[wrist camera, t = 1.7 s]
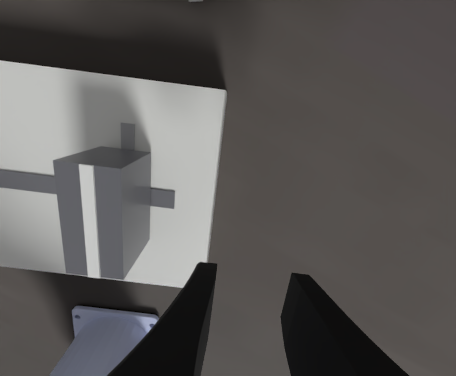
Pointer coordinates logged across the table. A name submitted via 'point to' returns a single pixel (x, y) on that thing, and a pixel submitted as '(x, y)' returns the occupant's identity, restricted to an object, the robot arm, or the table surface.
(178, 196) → the white flat rectangular block
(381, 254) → the table surface
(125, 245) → the fader tab
